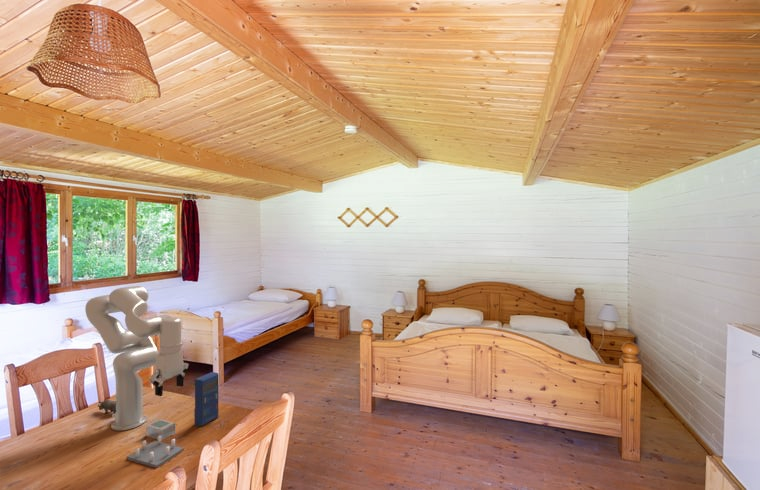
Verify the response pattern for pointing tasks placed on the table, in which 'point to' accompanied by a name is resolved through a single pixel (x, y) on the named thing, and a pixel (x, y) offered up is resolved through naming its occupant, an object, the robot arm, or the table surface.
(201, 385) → the electronic device
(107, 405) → the rhino figurine
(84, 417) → the table surface
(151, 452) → the grey pegged base plate
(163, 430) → the drive
